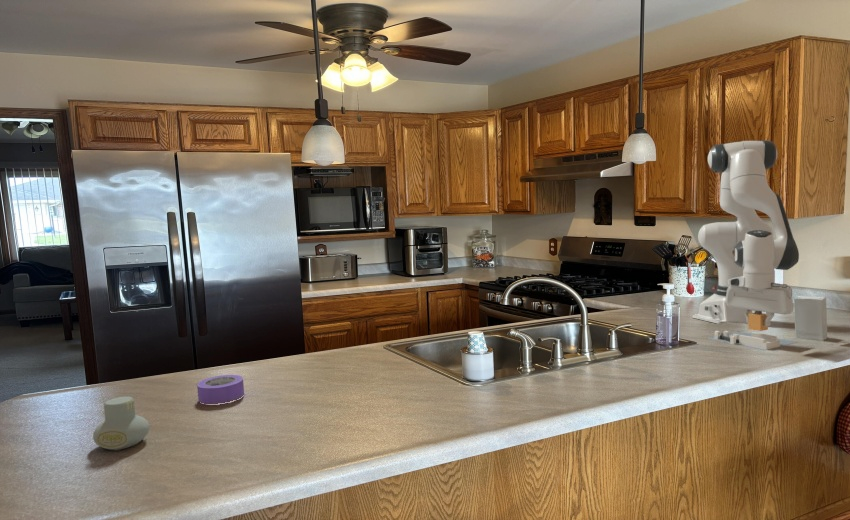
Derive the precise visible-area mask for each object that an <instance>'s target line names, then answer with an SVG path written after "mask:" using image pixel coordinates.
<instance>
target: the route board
mask: <svg viewBox="0 0 850 520" xmlns="http://www.w3.org/2000/svg"><path fill="white" fill-rule="evenodd" d="M713 335H714V336H713V337H709V338H708V337H707V338H706V340H710V341H715V342H719V343H720V342H722V343H726V344H730V345H734V346H739V347H745V348H749V349H754V350H759V351H767V350H771V349H775V348H781V347H784V346H789V345H792V344H796V343H798V341H793V340H789V339H788V340H787V339H783V338H778V336H777V335H771V334H765V333H759V332H754V331H753V332H750V333H748V332H745V331H744V332H743V331H737V332H732V333H730V331H728V330H723V332H722V333H721V331H719V330H715V331H714V334H713Z"/></svg>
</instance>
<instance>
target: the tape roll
mask: <svg viewBox="0 0 850 520" xmlns="http://www.w3.org/2000/svg"><path fill="white" fill-rule="evenodd" d="M196 388H197V398H198V403H199V402H201V403H204V404H218V403H225V402H230V401H233V400H237V399H239V398H241V397H242V396H243V395H244V396H245V387H244V378H243V376H242V375H239V374H221V375H216V376H211V377H207V378H205V379H204V378H203V379H202V380H200V381H199V382H198V383H197V384H196Z"/></svg>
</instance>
